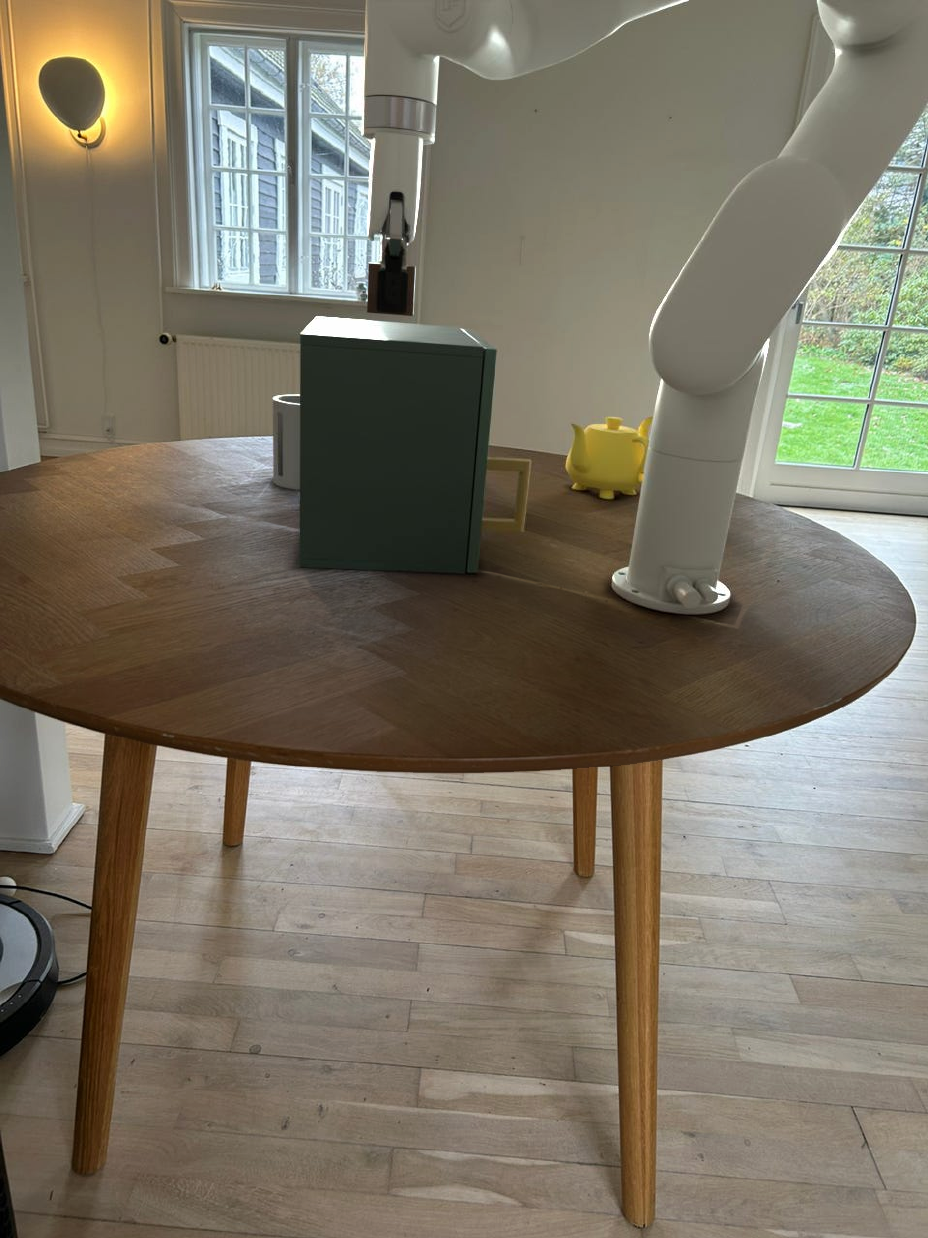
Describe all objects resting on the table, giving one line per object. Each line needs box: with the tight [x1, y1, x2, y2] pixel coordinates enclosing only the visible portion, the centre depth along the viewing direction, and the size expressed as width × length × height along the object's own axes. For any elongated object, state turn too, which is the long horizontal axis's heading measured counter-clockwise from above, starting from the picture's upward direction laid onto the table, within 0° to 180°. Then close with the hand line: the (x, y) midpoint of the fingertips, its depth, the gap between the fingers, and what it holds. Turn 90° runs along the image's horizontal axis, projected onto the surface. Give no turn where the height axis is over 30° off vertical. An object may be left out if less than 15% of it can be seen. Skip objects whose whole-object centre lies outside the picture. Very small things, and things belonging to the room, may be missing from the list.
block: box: [366, 261, 417, 317], centre depth 94 cm, size 5×5×5 cm
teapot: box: [565, 416, 653, 500], centre depth 132 cm, size 20×15×12 cm
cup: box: [272, 393, 300, 491], centre depth 123 cm, size 9×9×12 cm
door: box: [461, 328, 532, 574], centre depth 102 cm, size 6×26×24 cm, turn 6°
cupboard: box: [299, 316, 484, 575], centre depth 100 cm, size 18×26×24 cm
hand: (390, 308), depth 95 cm, fingers closed on block, 5 cm apart
